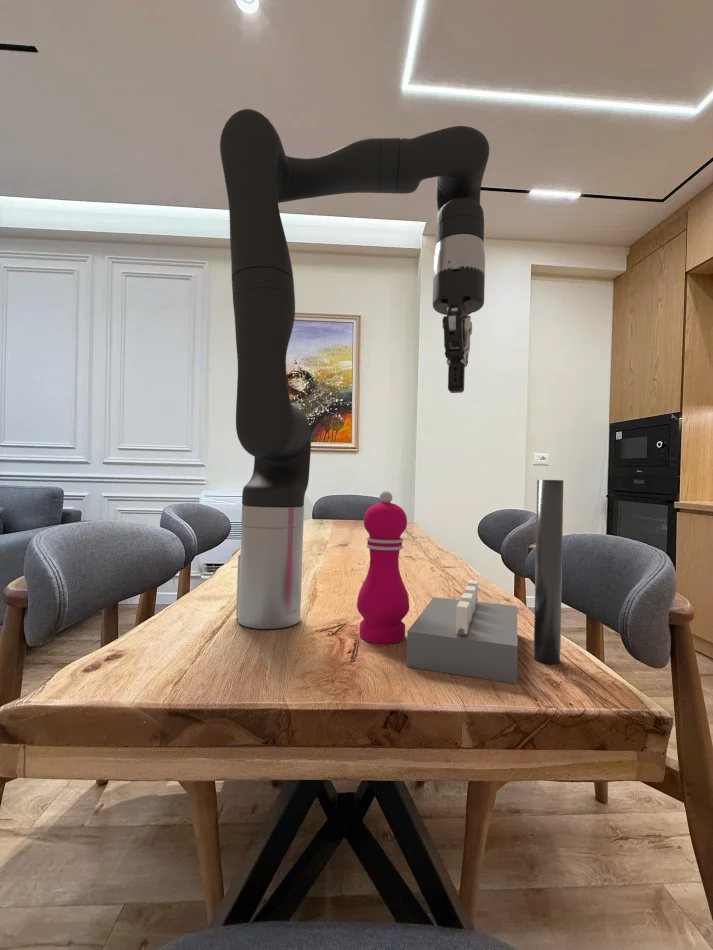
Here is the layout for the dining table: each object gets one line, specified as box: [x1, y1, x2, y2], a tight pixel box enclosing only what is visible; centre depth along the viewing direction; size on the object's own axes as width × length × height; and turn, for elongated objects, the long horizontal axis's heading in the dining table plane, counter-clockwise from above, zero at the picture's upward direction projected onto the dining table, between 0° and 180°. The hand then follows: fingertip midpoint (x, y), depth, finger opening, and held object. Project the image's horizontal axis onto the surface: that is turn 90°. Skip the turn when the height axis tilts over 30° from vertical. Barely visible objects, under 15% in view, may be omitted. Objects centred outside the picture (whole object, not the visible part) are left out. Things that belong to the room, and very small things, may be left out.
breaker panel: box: [406, 596, 519, 685], centre depth 59 cm, size 12×18×4 cm, turn 161°
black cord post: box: [533, 479, 564, 665], centre depth 56 cm, size 3×3×22 cm
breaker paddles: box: [456, 579, 479, 635], centre depth 59 cm, size 1×16×3 cm, turn 160°
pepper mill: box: [356, 490, 410, 645], centre depth 63 cm, size 7×7×20 cm
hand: (456, 391), depth 68 cm, fingers closed
